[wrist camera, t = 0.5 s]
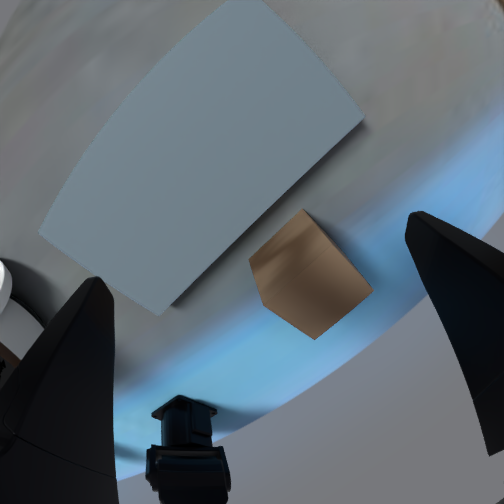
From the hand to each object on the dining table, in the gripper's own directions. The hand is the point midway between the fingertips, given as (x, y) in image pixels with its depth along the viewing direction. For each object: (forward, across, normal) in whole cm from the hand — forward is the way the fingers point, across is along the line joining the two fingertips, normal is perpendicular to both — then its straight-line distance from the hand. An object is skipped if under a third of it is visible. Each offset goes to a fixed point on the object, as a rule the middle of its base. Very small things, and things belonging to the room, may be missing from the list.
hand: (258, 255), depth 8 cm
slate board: (+14, +3, +2) cm, 14 cm away
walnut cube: (+13, -4, +12) cm, 18 cm away
